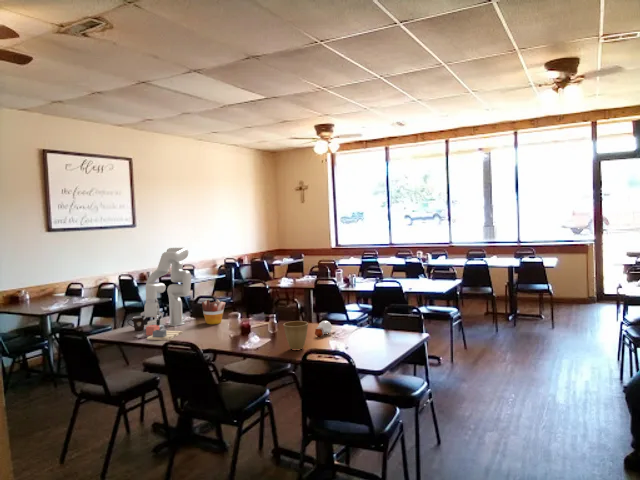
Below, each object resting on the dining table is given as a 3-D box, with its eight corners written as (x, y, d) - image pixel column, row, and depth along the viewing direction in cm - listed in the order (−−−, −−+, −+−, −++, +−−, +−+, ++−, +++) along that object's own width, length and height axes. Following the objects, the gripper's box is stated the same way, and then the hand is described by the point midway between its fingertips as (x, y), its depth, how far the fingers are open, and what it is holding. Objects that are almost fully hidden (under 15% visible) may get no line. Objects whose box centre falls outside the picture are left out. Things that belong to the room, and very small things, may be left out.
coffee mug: (147, 328, 375) (146, 315, 374) (142, 331, 366) (141, 318, 366) (132, 329, 376) (132, 315, 376) (127, 331, 367) (126, 318, 367)
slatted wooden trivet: (162, 332, 360) (162, 330, 360) (182, 333, 357) (182, 331, 357) (146, 339, 341) (146, 337, 340) (168, 340, 337) (168, 337, 337)
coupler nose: (156, 335, 344) (155, 330, 344) (166, 335, 343) (166, 330, 343) (152, 337, 341) (152, 331, 340) (163, 337, 339) (163, 331, 339)
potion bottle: (330, 334, 345) (321, 342, 332) (319, 326, 348) (309, 333, 335) (336, 324, 342) (327, 332, 329) (325, 316, 344) (316, 323, 331)
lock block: (152, 332, 362) (151, 324, 362) (159, 332, 361) (159, 324, 360) (146, 335, 354) (145, 326, 354) (153, 335, 353) (153, 327, 352)
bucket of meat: (210, 320, 401) (209, 295, 400) (228, 320, 396) (227, 296, 396) (197, 325, 381) (196, 299, 381) (217, 326, 377) (216, 300, 376)
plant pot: (289, 345, 312) (288, 320, 312) (311, 346, 308) (311, 321, 307) (280, 352, 298) (279, 325, 297) (304, 353, 294) (303, 326, 293)
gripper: (165, 300, 358) (165, 324, 358) (143, 300, 362) (144, 323, 362) (159, 302, 350) (160, 326, 351) (137, 301, 354) (138, 325, 354)
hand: (152, 325), depth 356 cm, fingers open, 9 cm apart
